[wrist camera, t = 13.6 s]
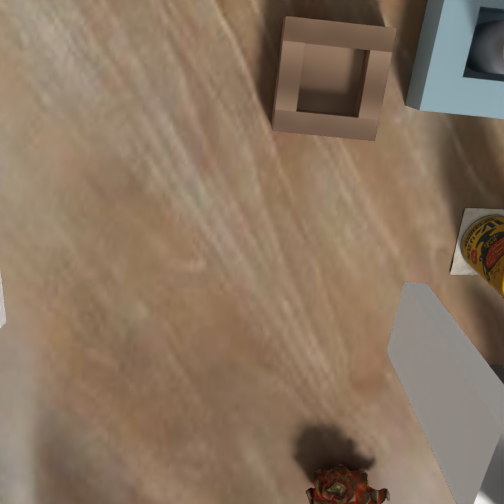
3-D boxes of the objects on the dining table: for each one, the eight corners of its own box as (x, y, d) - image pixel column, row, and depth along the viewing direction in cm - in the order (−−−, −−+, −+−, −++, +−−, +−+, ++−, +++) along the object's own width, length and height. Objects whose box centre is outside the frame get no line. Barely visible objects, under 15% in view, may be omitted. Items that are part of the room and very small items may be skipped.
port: (434, -33, 40) (456, -43, 35) (562, -18, 40) (600, -26, 36) (405, 105, 44) (421, 111, 40) (521, 117, 44) (550, 124, 40)
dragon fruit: (313, 437, 61) (365, 477, 66) (278, 500, 59) (336, 536, 64) (360, 464, 54) (416, 506, 59) (323, 537, 51) (384, 574, 56)
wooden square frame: (283, 18, 41) (285, 15, 38) (386, 29, 41) (397, 28, 38) (271, 125, 45) (272, 130, 42) (366, 135, 45) (374, 141, 42)
